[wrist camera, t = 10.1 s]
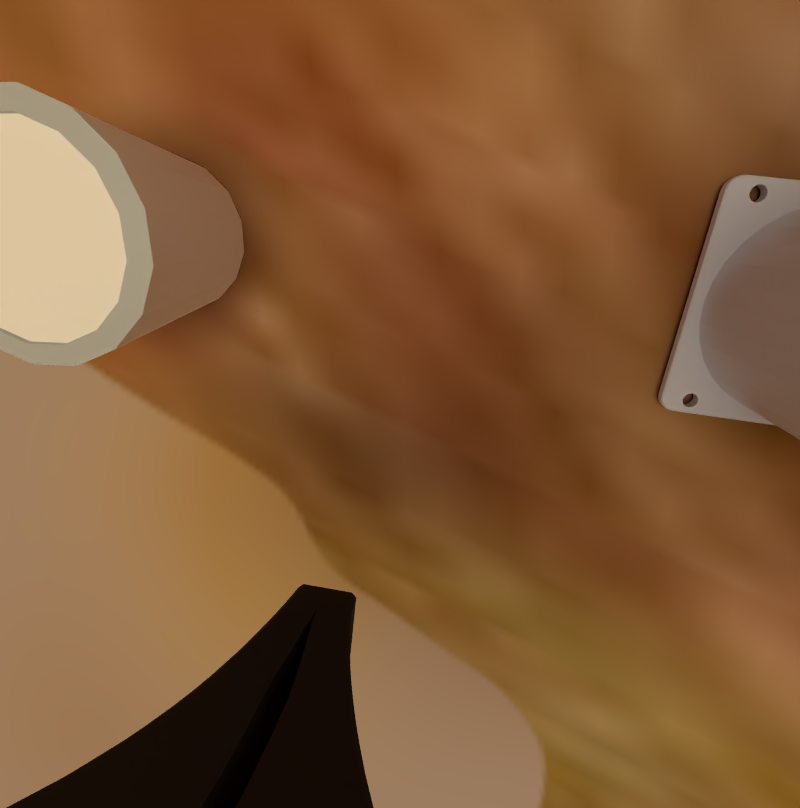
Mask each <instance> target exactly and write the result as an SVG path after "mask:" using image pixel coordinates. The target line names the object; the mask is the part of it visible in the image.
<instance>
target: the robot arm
mask: <svg viewBox="0 0 800 808" xmlns="http://www.w3.org/2000/svg"><path fill="white" fill-rule="evenodd" d="M754 186H757V187H759V189H760V190H761V192H760V197H759V198H758V200H756V201H755V202H753V201H751V199H750V197H749V194H750V191H751V189H752V188H753V187H754ZM692 393H693V399H692V401H691V402H689V403H687V404H683V398H684V397H685V396H686V395H687V394H692ZM658 399H659V402H660V404H662V405H663V406H664V407H665V408H666V409H668V410H671V411H677V412H684V413H691V414H699V415H706V416H713V417H720V418H727V419H734V420H741V421H748V422H755V423H762V424H770V425H776V426H778V427H779V428H781V429H783V430H784V431H786V432H788V433H789V434H791V435H792V436H794V437H796V438H797V439H799V440H800V180H794V179H784V178H775V177H765V176H755V175H739V176H735V177H733V178H731V179H729V180H728V181H727V182H726V183H725V184H724V185H723V187H722V189H721V191H720V194H719V197H718V200H717V204H716V207H715V210H714V213H713V217H712V220H711V223H710V227H709V230H708V233H707V236H706V240H705V243H704V246H703V250H702V253H701V256H700V259H699V263H698V266H697V269H696V272H695V276H694V279H693V282H692V286H691V289H690V292H689V295H688V299H687V302H686V305H685V309H684V312H683V315H682V318H681V322H680V325H679V328H678V332H677V335H676V338H675V341H674V345H673V348H672V351H671V355H670V358H669V361H668V364H667V368H666V371H665V374H664V378H663V381H662V384H661V387H660V391H659V395H658ZM355 603H356V597H355V596H354V595H353V594H352V593H350V592H345V591H339V590H333V589H328V588H322V587H317V586H311V585H306V584H303V585H302V586H300V587H299V588H298V589H297V590H296V591H295V593H294V594H293V595H292V596H291V597H290V598H289V599H288V601H287V602H286V603H285V604H284V605H283V606H282V607H281V608H280V610H279V611H278V612H277V613H276V614H275V615H274V616H273V617H272V618H271V619H270V620H269V621H268V622H267V623H266V624H265V625H264V626H263V627H262V628H261V629H260V631H259V632H257V634H255V635H254V636H253V637H252V638H251V640H249V641H248V643H247V644H245V645H244V646H243V647H242V648H241V649H240V650H239V651H238V652H237V653H236V654H235V655H234V656H233V657H231V658H230V659H229V660H228V661H227V662H226V663H225V664H224V665H223V666H221V667H220V668H219V669H218V670H217V671H216V672H215V673H214V674H212V675H211V676H210V677H209V678H208V679H207V680H205V681H204V682H203V683H202V684H201V685H199V686H198V687H197V688H196V689H194V690H193V691H192V692H191V693H189V694H188V695H187V696H186V697H184V698H183V699H182V700H180V701H179V702H178V703H177V704H175V705H174V706H173V707H171V708H170V709H168V710H167V711H166V712H164V713H163V714H161V715H160V716H159V717H157V718H156V719H154V720H153V721H152V722H150V723H149V724H148V725H146V726H145V727H143V728H142V729H140V730H139V731H137V732H136V733H134V734H133V735H132V736H130V737H128V738H127V739H125V740H124V741H122V742H121V743H119V744H118V745H116V746H114V747H113V748H111V749H109V750H108V751H106V752H105V753H103V754H101V755H100V756H98V757H96V758H95V759H93V760H92V761H90V762H88V763H87V764H85V765H83V766H82V767H80V768H79V769H77V770H75V771H74V772H72V773H70V774H69V775H67V776H65V777H63V778H61V779H60V780H58V781H56V782H54V783H52V784H50V785H48V786H46V787H45V788H43V789H41V790H39V791H37V792H35V793H33V794H31V795H30V796H28V797H26V798H24V799H22V800H20V801H18V802H16V803H14V804H13V805H11V806H9V807H7V808H373V804H372V800H371V796H370V792H369V788H368V784H367V780H366V775H365V771H364V765H363V760H362V755H361V750H360V745H359V739H358V733H357V727H356V720H355V713H354V705H353V695H352V686H351V672H350V652H351V642H352V632H353V622H354V613H355Z"/></svg>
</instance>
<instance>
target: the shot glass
mask: <svg viewBox="0 0 800 808" xmlns="http://www.w3.org/2000/svg"><path fill="white" fill-rule="evenodd" d="M243 255H244V242H243V230H242V221H241V218H240V216H239V214H238V212H237V210H236V208H235V205H234V203H233V201H232V199H231V197H230V194H229V192H228V191H227V190H226V189H225V188H224V187H223V186H222V185H221V184H220V183H219V182H218V181H217V180H216V179H215V177H214V176H213V175H212V174H211V173H210V172H209V171H208V170H207V169H206V168H204V167H201V166H199V165H197V164H195V163H193V162H191V161H188V160H186V159H184V158H182V157H180V156H178V155H175V154H173V153H171V152H169V151H167V150H164V149H162V148H160V147H158V146H156V145H154V144H151V143H149V142H147V141H145V140H143V139H141V138H138V137H136V136H134V135H132V134H130V133H128V132H125V131H123V130H121V129H119V128H117V127H115V126H112V125H110V124H108V123H106V122H104V121H101V120H99V119H97V118H95V117H93V116H91V115H88V114H86V113H84V112H82V111H80V110H78V109H75V108H73V107H71V106H69V105H67V104H64V103H62V102H60V101H58V100H56V99H53V98H51V97H49V96H47V95H45V94H43V93H40V92H38V91H36V90H34V89H32V88H29V87H27V86H25V85H23V84H21V83H18V82H0V350H2V351H4V352H6V353H9V354H11V355H13V356H16V357H18V358H20V359H23V360H25V361H27V362H29V363H32V364H48V365H68V366H77V365H80V364H82V363H84V362H87V361H89V360H91V359H94V358H96V357H98V356H101V355H103V354H105V353H108V352H110V351H112V350H115V349H117V348H119V347H121V346H123V345H125V344H127V343H129V342H131V341H133V340H135V339H137V338H139V337H141V336H143V335H145V334H147V333H150V332H152V331H154V330H156V329H158V328H160V327H162V326H164V325H166V324H168V323H170V322H172V321H174V320H176V319H178V318H180V317H182V316H184V315H186V314H189V313H191V312H193V311H195V310H197V309H199V308H201V307H203V306H205V305H207V304H209V303H211V302H213V301H215V300H217V299H219V298H220V297H221V296H222V295H223V294H224V293H225V291H226V290H227V289H228V288H229V287H230V286H231V284H232V283H233V282H234V281H235V280H236V278H237V275H238V272H239V268H240V265H241V261H242V258H243Z"/></svg>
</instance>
